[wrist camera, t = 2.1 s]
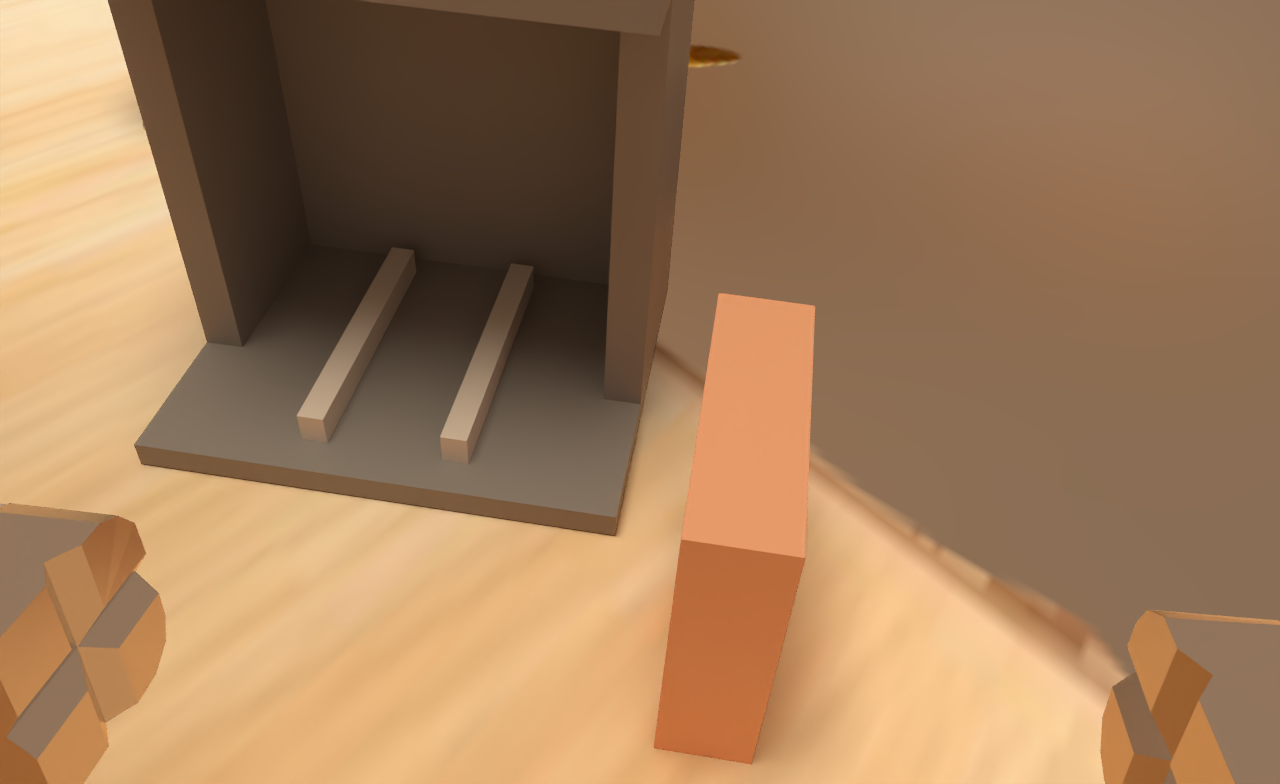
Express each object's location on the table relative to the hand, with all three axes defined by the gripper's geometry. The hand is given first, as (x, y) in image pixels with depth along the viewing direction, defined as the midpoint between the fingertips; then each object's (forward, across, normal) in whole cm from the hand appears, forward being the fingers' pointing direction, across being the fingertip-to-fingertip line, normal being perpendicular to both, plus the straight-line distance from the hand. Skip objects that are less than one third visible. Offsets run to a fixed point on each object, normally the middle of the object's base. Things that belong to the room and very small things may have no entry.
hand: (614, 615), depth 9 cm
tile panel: (+20, -1, +20) cm, 28 cm away
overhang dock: (+30, +12, +17) cm, 37 cm away
